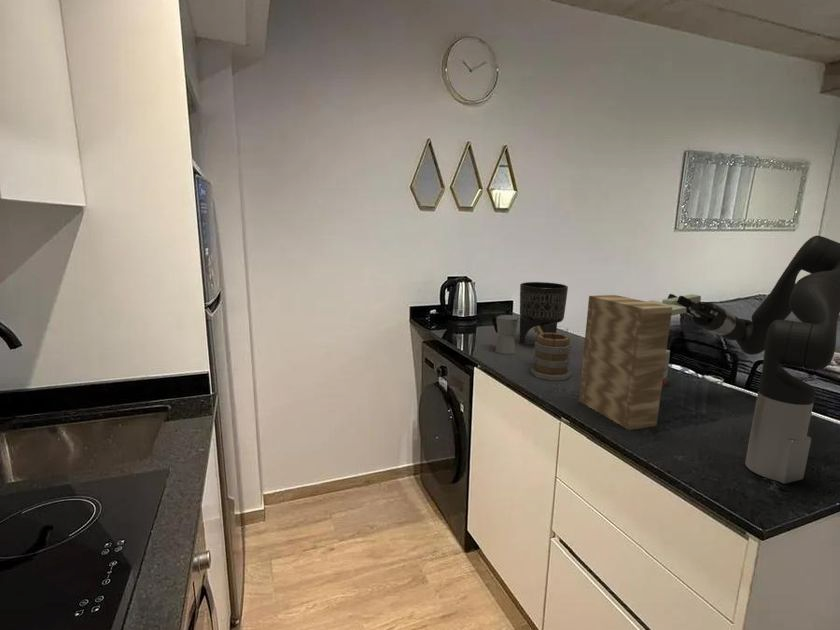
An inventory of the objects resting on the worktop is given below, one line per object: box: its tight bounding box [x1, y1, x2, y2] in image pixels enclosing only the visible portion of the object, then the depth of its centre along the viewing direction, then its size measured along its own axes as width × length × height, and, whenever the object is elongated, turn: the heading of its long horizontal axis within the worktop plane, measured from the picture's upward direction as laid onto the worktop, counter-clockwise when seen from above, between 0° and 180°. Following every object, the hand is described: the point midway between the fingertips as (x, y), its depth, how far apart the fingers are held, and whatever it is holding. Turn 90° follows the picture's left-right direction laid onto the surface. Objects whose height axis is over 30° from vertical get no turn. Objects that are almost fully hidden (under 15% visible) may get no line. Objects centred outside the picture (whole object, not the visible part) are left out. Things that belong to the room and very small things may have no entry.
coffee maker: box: [491, 308, 520, 356], centre depth 185 cm, size 15×9×18 cm, turn 34°
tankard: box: [530, 326, 572, 382], centre depth 161 cm, size 20×13×15 cm, turn 9°
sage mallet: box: [646, 294, 702, 317], centre depth 129 cm, size 12×17×2 cm
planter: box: [519, 281, 569, 344], centre depth 194 cm, size 20×20×26 cm
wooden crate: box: [578, 294, 672, 431], centre depth 124 cm, size 20×9×32 cm, turn 19°
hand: (674, 298), depth 129 cm, fingers closed on sage mallet, 3 cm apart
